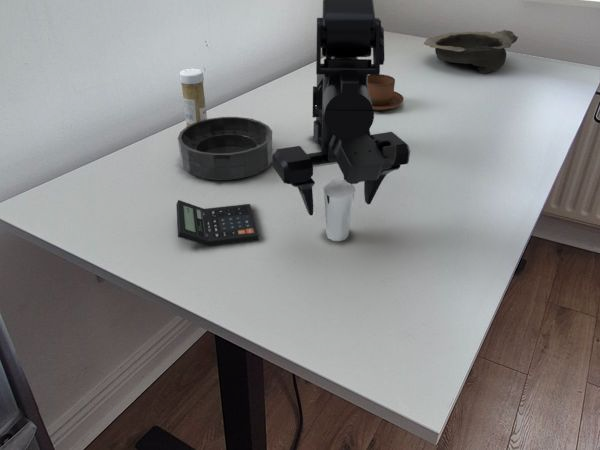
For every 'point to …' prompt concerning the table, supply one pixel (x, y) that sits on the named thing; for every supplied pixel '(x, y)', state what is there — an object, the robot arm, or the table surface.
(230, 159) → the dark round bowl
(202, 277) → the table surface
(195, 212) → the calculator
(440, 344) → the table surface
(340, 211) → the milkshake
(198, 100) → the sprinkles bottle
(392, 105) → the cup and saucer
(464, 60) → the stone bowl
